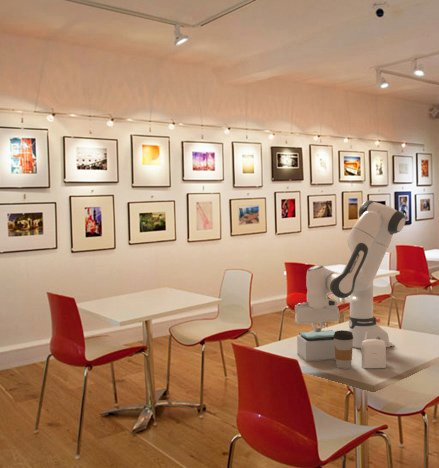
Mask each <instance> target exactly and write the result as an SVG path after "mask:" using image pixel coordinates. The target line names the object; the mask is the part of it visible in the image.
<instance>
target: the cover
mask: <svg viewBox="0 0 439 468" xmlns="http://www.w3.org/2000/svg"><path fill="white" fill-rule="evenodd" d="M335 332H336V331H335V330H332V329H331V330H330V329H329V330H321V332H314V330H313V331H299V332H298V335H302V336H304V337H306V338H323V337H334V334H335Z"/></svg>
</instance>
